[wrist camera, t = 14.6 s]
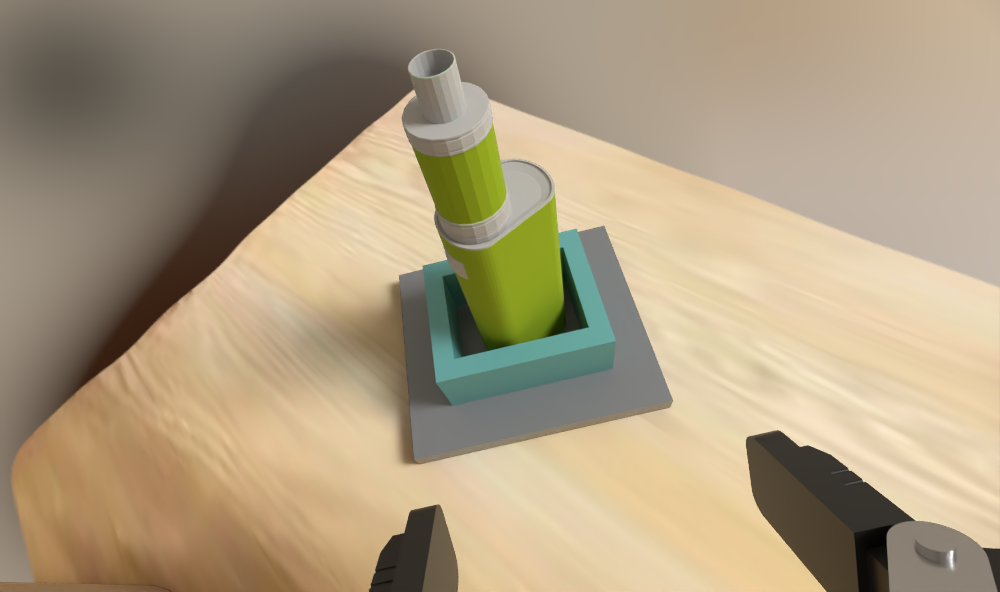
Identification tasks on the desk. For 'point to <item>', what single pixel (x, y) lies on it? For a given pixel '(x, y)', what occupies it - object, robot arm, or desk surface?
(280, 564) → the desk surface
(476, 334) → the dock
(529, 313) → the vape
